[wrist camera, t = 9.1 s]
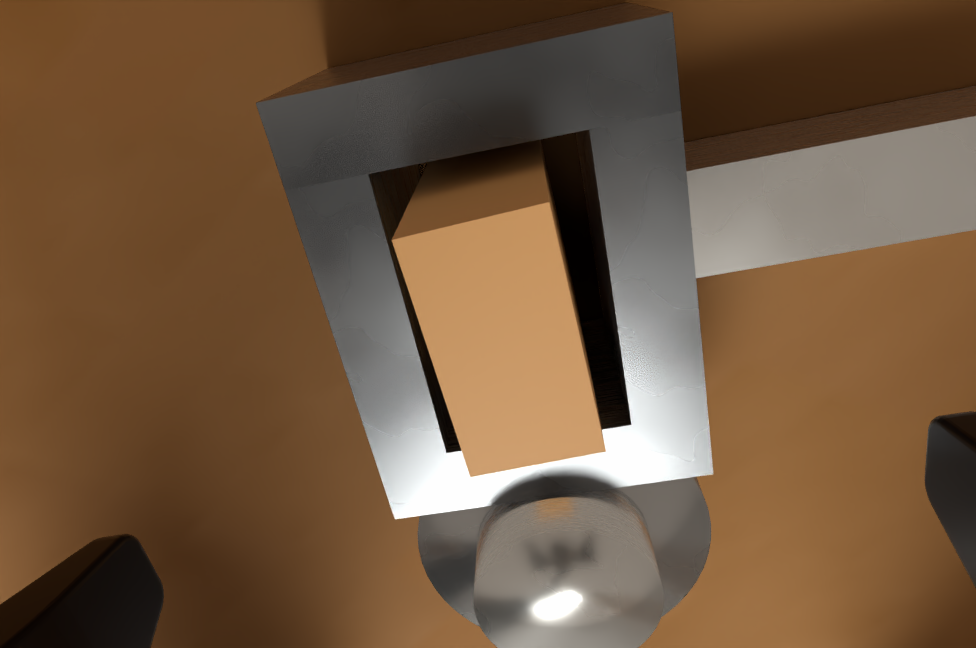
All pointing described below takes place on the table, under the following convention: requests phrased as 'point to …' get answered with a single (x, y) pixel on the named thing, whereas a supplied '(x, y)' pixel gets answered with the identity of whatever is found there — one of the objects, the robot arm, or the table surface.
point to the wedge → (499, 309)
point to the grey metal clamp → (622, 285)
